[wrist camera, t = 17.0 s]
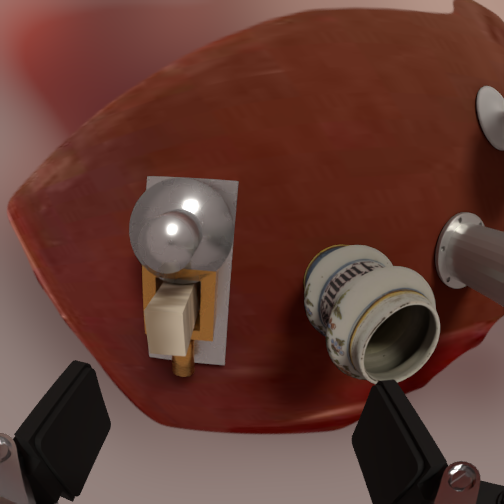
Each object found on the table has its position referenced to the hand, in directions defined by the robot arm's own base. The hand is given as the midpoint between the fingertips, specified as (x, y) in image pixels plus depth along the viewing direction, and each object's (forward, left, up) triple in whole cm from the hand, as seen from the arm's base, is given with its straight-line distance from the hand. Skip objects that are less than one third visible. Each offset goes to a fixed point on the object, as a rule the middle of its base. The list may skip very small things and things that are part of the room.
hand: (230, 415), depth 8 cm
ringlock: (+6, +6, -29) cm, 30 cm away
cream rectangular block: (+6, +6, -27) cm, 29 cm away
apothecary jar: (-14, +4, -29) cm, 33 cm away
